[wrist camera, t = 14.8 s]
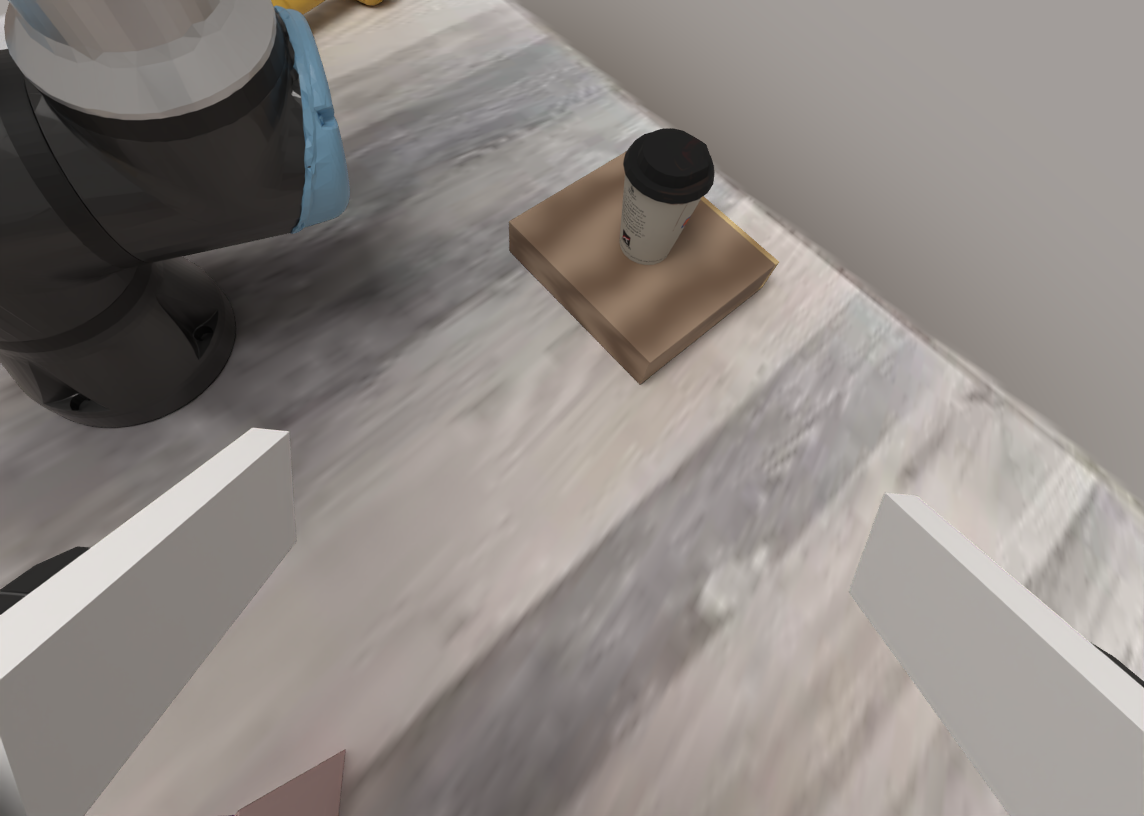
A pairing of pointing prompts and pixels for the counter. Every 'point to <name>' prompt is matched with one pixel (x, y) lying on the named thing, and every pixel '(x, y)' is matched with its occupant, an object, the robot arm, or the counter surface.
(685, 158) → the coffee cup
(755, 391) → the counter surface
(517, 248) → the brown flat square block
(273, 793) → the greeting card
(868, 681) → the counter surface
